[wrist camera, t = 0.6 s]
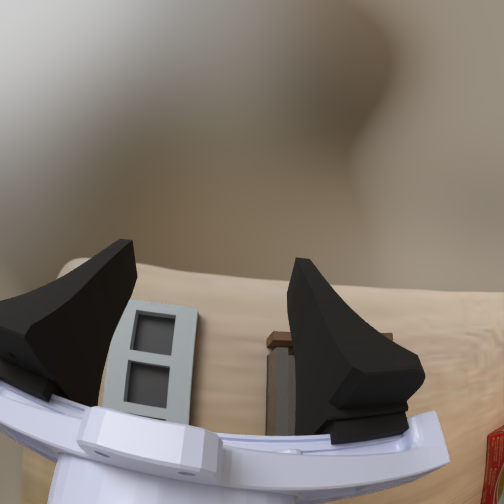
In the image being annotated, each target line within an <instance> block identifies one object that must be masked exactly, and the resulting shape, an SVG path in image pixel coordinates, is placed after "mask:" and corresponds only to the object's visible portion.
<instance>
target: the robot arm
mask: <svg viewBox="0 0 504 504" xmlns="http://www.w3.org/2000/svg"><path fill="white" fill-rule="evenodd" d="M136 280H137V270H136V263H135V256H134V248H133V241H132V240H126V239H120V240H118V241H116V242H114V243H113V244H111V245H110V246H109V247H107V248H106V249H104V250H103V251H101V252H100V253H98V254H97V255H95V256H94V257H92V258H91V259H90V260H88V261H86V262H85V263H83V264H82V265H80V266H79V267H77V268H76V269H74V270H73V271H71V272H69V273H68V274H66V275H64V276H62V277H60V278H59V279H57V280H55V281H53V282H51V283H49V284H47V285H44V286H42V287H40V288H38V289H36V290H33V291H31V292H28V293H25V294H22V295H19V296H17V297H13V298H10V299H6V300H2V301H0V431H1V432H2V433H4V434H5V435H7V436H8V437H10V438H12V439H14V440H15V441H17V442H18V443H20V444H22V445H23V446H25V447H27V448H29V449H30V450H32V451H34V452H36V453H38V454H40V455H41V456H43V457H45V458H47V459H49V460H51V461H53V462H55V463H57V464H56V468H55V471H54V475H53V480H52V484H51V488H50V493H49V497H48V502H47V504H316V503H323V502H330V501H336V500H341V499H347V498H352V497H356V496H361V495H365V494H369V493H374V492H377V491H381V490H385V489H389V488H392V487H396V486H399V485H403V484H406V483H409V482H412V481H415V480H417V479H419V478H421V477H423V476H425V475H428V474H430V473H431V472H433V471H435V470H437V469H439V468H441V467H443V466H445V465H447V464H448V463H449V462H450V458H449V454H448V451H447V447H446V443H445V440H444V436H443V433H442V429H441V426H440V423H439V420H438V417H437V413H436V411H430V412H425V413H421V414H416V415H413V416H410V417H408V418H407V417H406V414H405V412H406V411H407V410H408V404H407V400H408V399H409V398H410V397H411V396H412V395H413V394H414V393H415V392H416V391H417V390H418V389H419V388H420V387H421V385H422V384H423V382H424V380H425V373H424V370H423V367H422V365H421V362H420V360H419V358H418V355H416V354H414V353H413V352H411V351H409V350H407V349H405V348H403V347H401V346H400V345H398V344H396V343H395V342H393V341H391V340H390V339H388V338H387V337H385V336H384V335H382V334H381V333H380V332H378V331H377V330H376V329H374V328H373V327H372V326H370V325H369V324H368V323H367V322H365V321H364V320H363V319H362V318H361V317H360V316H359V315H358V314H356V313H355V312H354V311H353V310H352V309H351V308H350V307H349V306H348V305H347V304H346V303H345V302H344V301H343V300H342V298H341V297H340V296H339V295H338V294H337V293H336V292H335V291H334V289H333V288H332V287H331V286H330V285H329V283H328V282H327V281H326V280H325V278H324V277H323V276H322V275H321V273H320V272H319V271H318V269H317V268H316V266H315V265H314V264H313V263H312V261H311V260H310V259H305V258H296V260H295V264H294V268H293V272H292V276H291V279H290V283H289V287H288V291H287V312H288V319H289V325H290V332H291V338H292V344H293V351H294V358H295V379H296V410H295V434H294V436H257V435H238V434H225V433H215V432H211V431H209V430H206V429H204V428H200V427H195V426H190V425H186V424H180V423H173V422H168V421H162V420H157V419H152V418H147V417H142V416H138V415H133V414H129V413H125V412H121V411H117V410H113V409H110V408H104V407H99V406H97V405H98V397H99V391H100V385H101V380H102V374H103V370H104V366H105V362H106V358H107V354H108V350H109V347H110V344H111V340H112V338H113V335H114V332H115V330H116V328H117V326H118V323H119V321H120V319H121V317H122V315H123V313H124V310H125V308H126V306H127V304H128V302H129V300H130V297H131V295H132V292H133V289H134V286H135V283H136Z"/></svg>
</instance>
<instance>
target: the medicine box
mask: <svg viewBox="0 0 504 504" xmlns="http://www.w3.org/2000/svg"><path fill="white" fill-rule="evenodd" d="M481 504H504V425H503V426H502V427H500V428H498V429H497V430H495V431H494V432H492V433H490V434H489V435H488V436H487V457H486V468H485V478H484V486H483V493H482V499H481Z"/></svg>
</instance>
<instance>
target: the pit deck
mask: <svg viewBox="0 0 504 504" xmlns="http://www.w3.org/2000/svg"><path fill="white" fill-rule="evenodd" d="M197 319H198V308H196V307H187V306H179V305H170V304H163V303H155V302H147V301H140V300H133V299H130V300H129V302H128V304H127V306H126V308H125V310H124V313H123V315H122V317H121V319H120V321H119V323H118V326H117V328H116V330H115V332H114V335H113V338H112V340H111V344H110V349H109V355H108V362H107V369H106V377H105V385H104V394H103V403H102V407H104V408H110V409H113V410H117V411H121V412H125V413H129V414H133V415H138V416H142V417H147V418H152V419H157V420H162V421H168V422H173V423H180V424H186V425H189V420H190V403H191V388H192V375H193V362H194V351H195V340H196V329H197Z"/></svg>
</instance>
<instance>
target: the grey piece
mask: <svg viewBox="0 0 504 504" xmlns="http://www.w3.org/2000/svg"><path fill="white" fill-rule="evenodd" d="M295 410H296V379H295V358H294V355H288V348H283V347H276V348H275V349H274V350H273V351H272V352H271V353H270V354H269V355H268V356H267V390H266V434H265V436H294V434H295Z"/></svg>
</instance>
